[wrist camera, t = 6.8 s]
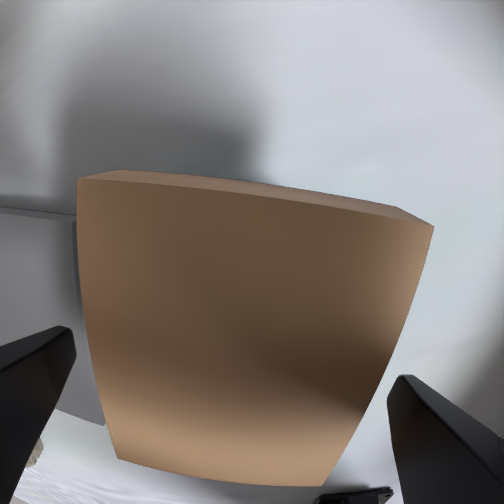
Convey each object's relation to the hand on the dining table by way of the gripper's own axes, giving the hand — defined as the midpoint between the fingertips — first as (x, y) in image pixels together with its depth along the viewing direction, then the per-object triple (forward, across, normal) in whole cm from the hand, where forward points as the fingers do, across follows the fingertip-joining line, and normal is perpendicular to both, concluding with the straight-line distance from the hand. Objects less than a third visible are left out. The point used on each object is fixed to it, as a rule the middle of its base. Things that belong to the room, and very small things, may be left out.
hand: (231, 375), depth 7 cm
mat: (+5, +12, +4) cm, 14 cm away
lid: (+1, 0, 0) cm, 1 cm away
